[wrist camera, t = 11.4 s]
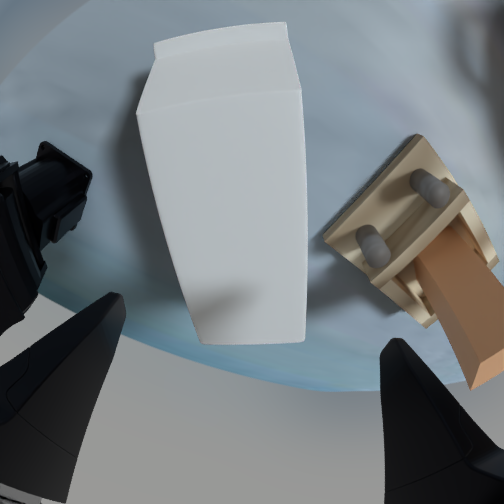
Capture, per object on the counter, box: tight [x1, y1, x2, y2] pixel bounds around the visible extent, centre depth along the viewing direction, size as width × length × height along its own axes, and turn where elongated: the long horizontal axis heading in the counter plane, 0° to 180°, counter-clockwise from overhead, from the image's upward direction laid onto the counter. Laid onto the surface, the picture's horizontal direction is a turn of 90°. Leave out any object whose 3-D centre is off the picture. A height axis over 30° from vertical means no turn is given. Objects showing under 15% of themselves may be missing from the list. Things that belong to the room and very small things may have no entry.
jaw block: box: [413, 225, 504, 390], centre depth 15 cm, size 4×4×12 cm
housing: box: [323, 134, 499, 328], centre depth 19 cm, size 14×11×4 cm
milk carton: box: [136, 22, 308, 345], centre depth 16 cm, size 7×7×19 cm
